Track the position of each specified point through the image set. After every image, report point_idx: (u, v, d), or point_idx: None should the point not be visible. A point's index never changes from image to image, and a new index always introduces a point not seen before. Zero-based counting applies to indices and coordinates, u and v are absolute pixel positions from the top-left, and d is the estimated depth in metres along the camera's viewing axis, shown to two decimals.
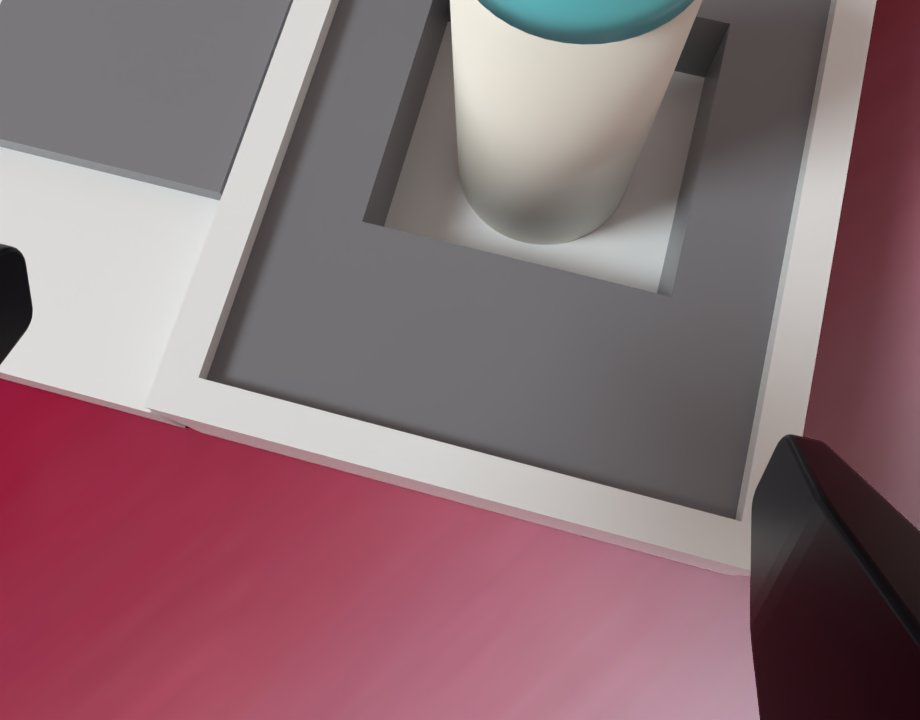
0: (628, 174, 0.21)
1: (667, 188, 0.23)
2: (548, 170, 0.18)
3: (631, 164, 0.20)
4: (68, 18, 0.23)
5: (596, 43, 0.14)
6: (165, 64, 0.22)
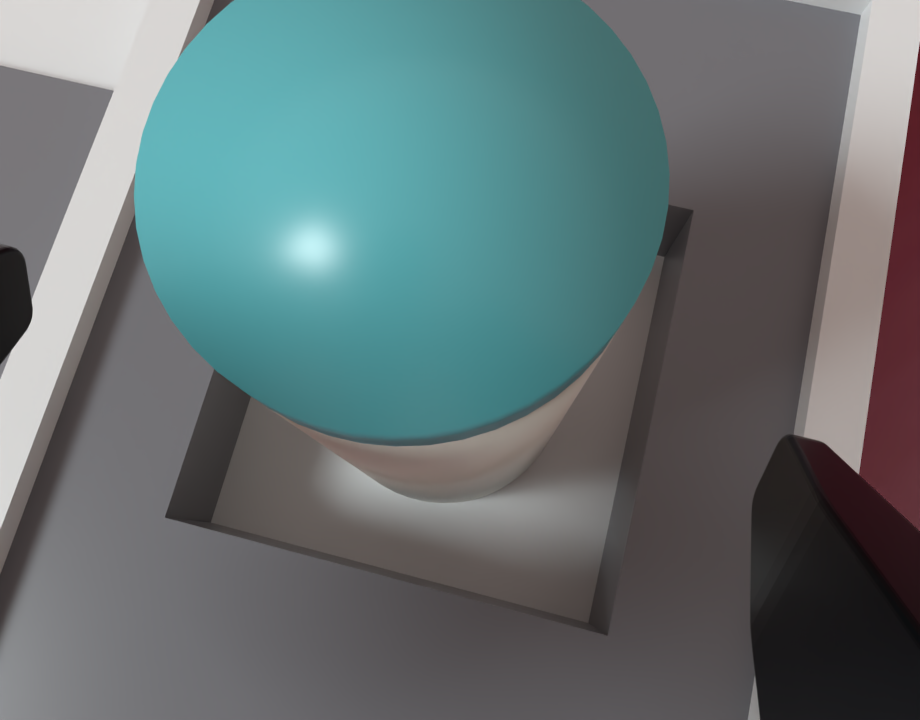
0: (548, 439, 0.14)
1: (612, 419, 0.17)
2: (414, 484, 0.12)
3: (549, 438, 0.14)
4: None
5: (420, 443, 0.08)
6: None
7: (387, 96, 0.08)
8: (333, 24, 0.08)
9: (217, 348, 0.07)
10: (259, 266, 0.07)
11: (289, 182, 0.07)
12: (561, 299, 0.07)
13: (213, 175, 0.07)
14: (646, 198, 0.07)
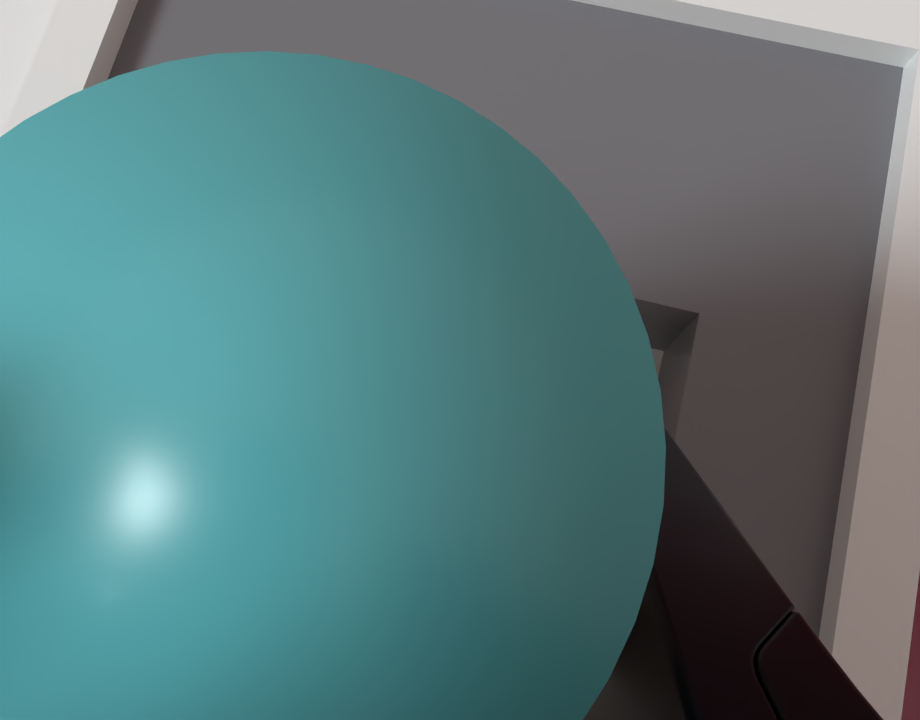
0: None
1: None
2: None
3: None
4: None
5: None
6: None
7: (216, 309, 0.05)
8: (137, 185, 0.05)
9: None
10: None
11: (51, 457, 0.05)
12: (485, 673, 0.04)
13: None
14: (627, 490, 0.04)
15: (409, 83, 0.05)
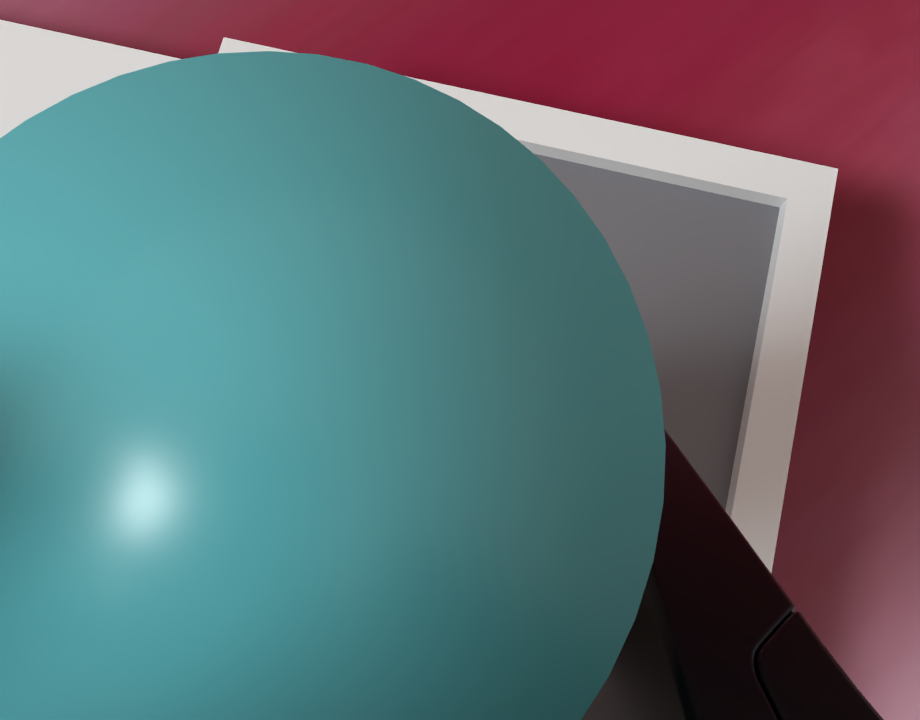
0: None
1: None
2: None
3: None
4: None
5: None
6: None
7: (219, 308, 0.05)
8: (138, 187, 0.05)
9: None
10: None
11: (53, 456, 0.05)
12: (485, 671, 0.04)
13: None
14: (627, 489, 0.05)
15: (411, 82, 0.05)
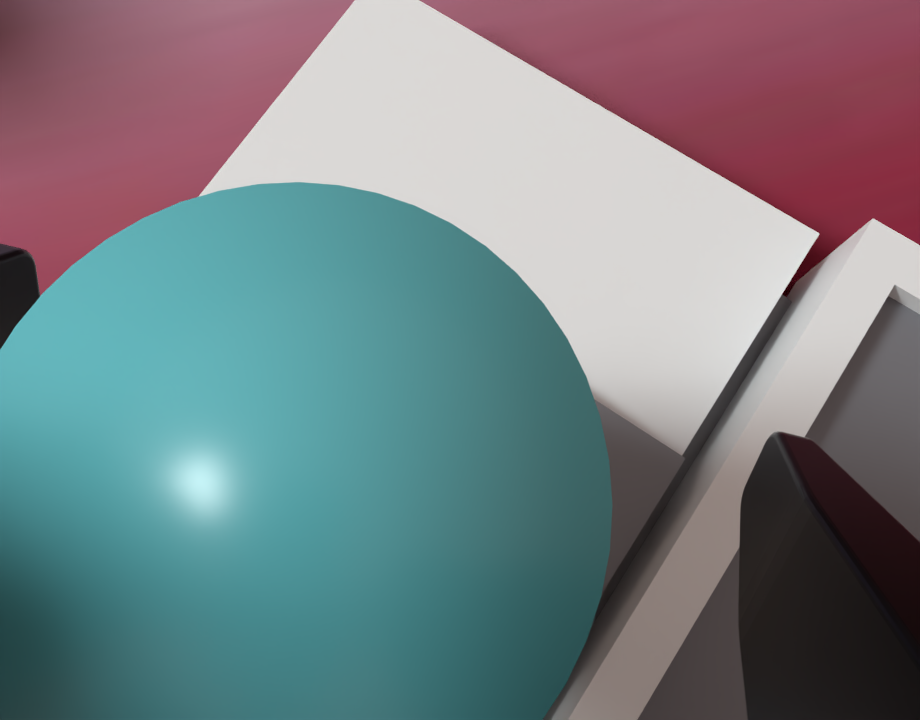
0: None
1: None
2: None
3: None
4: None
5: None
6: None
7: (262, 395, 0.06)
8: (197, 295, 0.06)
9: None
10: (98, 629, 0.06)
11: (137, 512, 0.06)
12: (471, 680, 0.06)
13: (43, 502, 0.06)
14: (582, 539, 0.06)
15: (413, 208, 0.06)
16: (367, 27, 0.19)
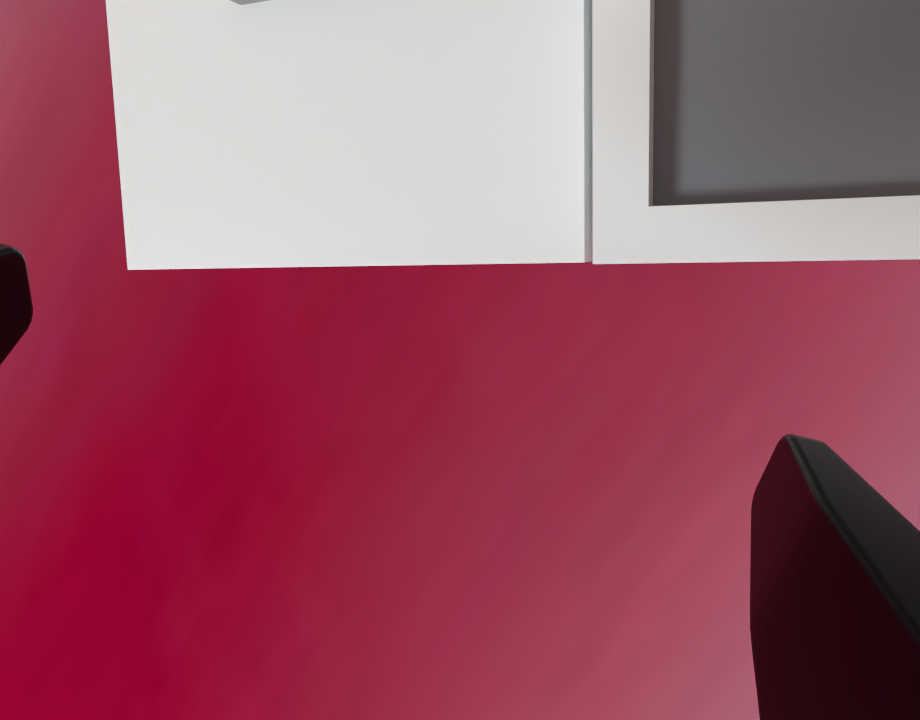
0: None
1: None
2: None
3: None
4: None
5: None
6: None
7: None
8: None
9: None
10: None
11: None
12: None
13: None
14: None
15: None
16: None
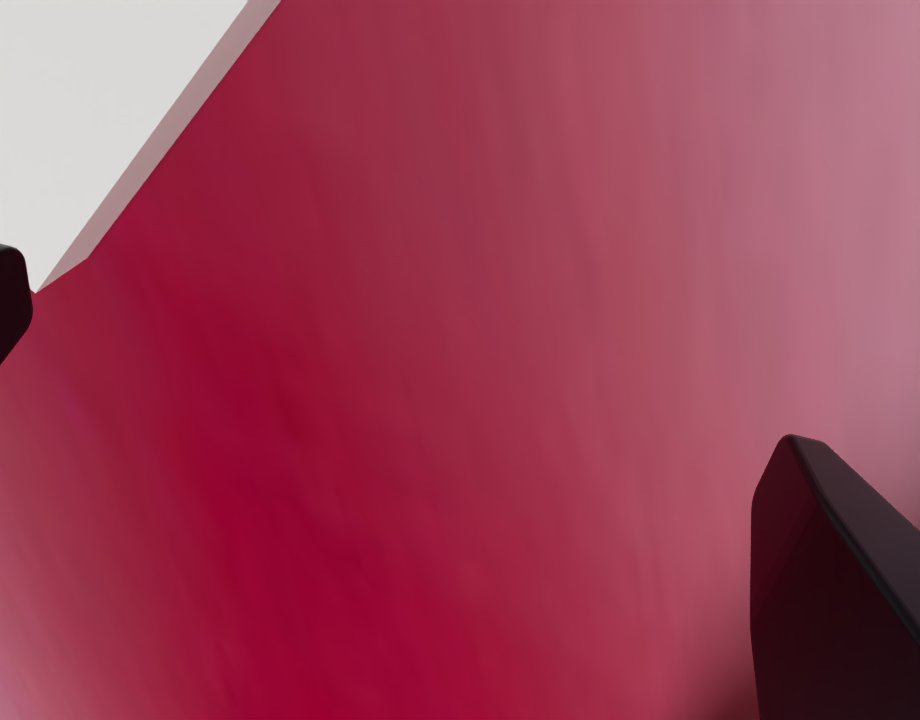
0: None
1: None
2: None
3: None
4: None
5: None
6: None
7: None
8: None
9: None
10: None
11: None
12: None
13: None
14: None
15: None
16: None
